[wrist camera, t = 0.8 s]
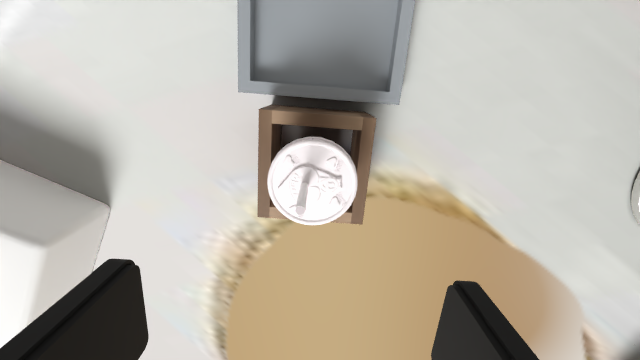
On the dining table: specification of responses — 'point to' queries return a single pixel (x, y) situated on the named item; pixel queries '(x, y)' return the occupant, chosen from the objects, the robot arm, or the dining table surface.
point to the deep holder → (315, 117)
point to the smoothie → (312, 180)
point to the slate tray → (324, 48)
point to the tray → (42, 244)
